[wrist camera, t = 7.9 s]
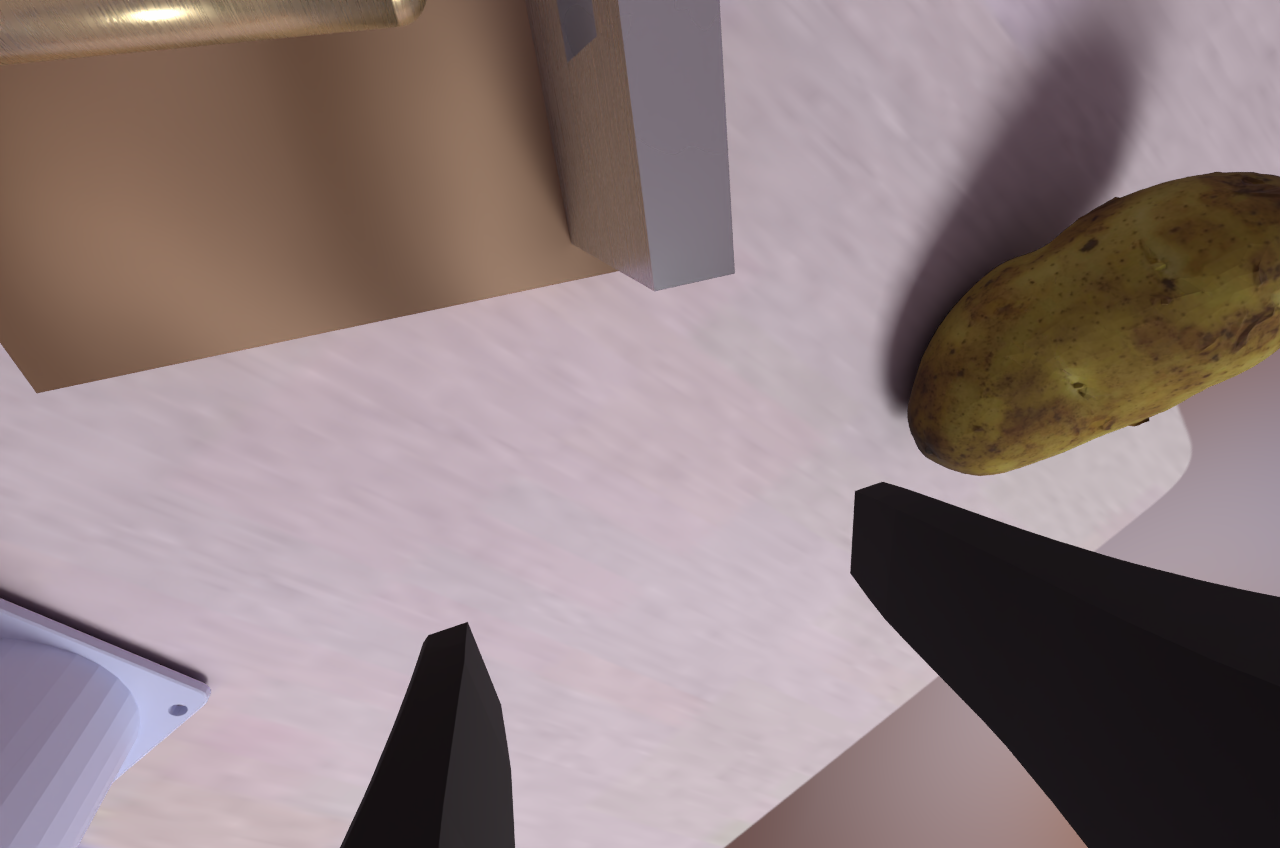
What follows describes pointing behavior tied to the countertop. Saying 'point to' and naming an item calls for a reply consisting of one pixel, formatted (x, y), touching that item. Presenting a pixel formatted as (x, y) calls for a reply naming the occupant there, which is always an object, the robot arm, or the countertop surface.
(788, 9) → the countertop surface
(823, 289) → the countertop surface
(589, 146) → the eye plate
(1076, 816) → the robot arm
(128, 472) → the countertop surface
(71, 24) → the copper disc on rod
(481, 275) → the base board
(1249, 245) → the potato
